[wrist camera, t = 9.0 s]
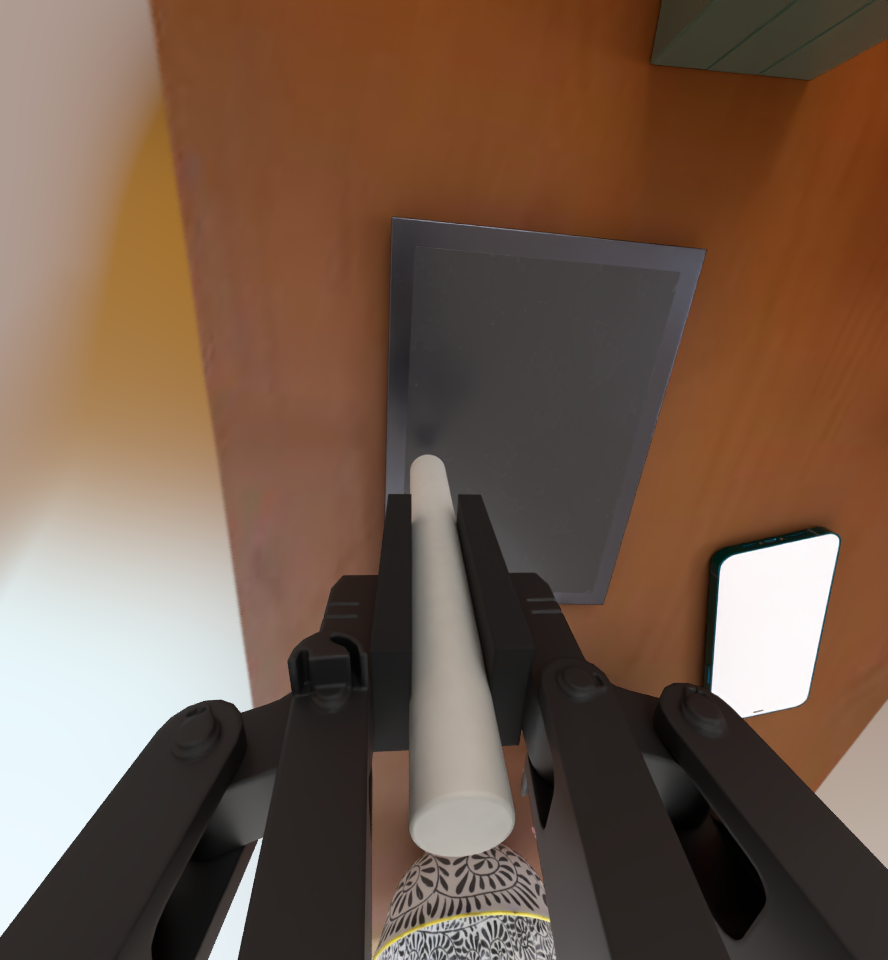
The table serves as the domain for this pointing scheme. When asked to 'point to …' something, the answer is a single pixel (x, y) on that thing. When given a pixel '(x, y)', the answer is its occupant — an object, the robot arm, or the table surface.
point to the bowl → (468, 910)
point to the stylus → (449, 690)
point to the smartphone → (768, 619)
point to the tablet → (534, 381)
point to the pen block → (767, 35)
